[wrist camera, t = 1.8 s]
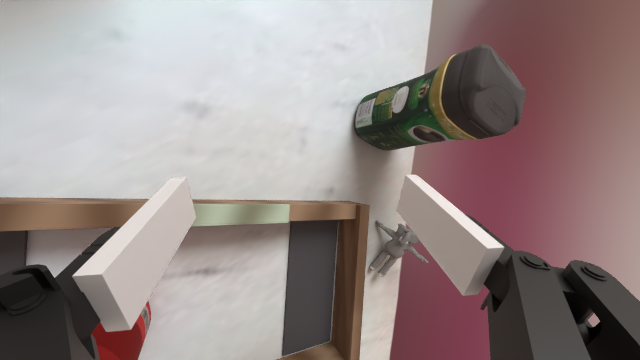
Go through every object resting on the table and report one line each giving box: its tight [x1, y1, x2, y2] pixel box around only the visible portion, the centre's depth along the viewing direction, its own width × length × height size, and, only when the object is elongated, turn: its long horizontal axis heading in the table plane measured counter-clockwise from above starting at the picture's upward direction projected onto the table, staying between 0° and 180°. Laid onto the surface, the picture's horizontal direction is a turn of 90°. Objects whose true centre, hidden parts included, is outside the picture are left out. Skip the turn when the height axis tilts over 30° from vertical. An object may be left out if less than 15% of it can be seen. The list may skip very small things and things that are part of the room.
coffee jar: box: [355, 44, 526, 150], centre depth 29 cm, size 10×8×19 cm
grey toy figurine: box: [370, 221, 428, 277], centre depth 37 cm, size 10×6×9 cm
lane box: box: [0, 198, 369, 360], centre depth 24 cm, size 40×24×5 cm, turn 86°
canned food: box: [92, 301, 151, 360], centre depth 18 cm, size 8×8×11 cm
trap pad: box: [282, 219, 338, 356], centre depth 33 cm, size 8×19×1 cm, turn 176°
